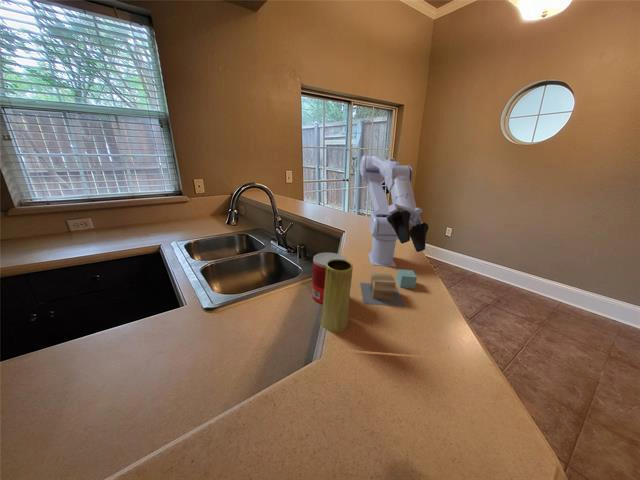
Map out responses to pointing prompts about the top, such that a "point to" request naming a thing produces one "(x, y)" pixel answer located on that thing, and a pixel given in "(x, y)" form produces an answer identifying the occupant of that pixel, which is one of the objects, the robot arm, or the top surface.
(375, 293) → the tower base
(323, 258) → the canned food
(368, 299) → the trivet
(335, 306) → the vase
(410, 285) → the cube
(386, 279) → the tower mid
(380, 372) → the top surface
